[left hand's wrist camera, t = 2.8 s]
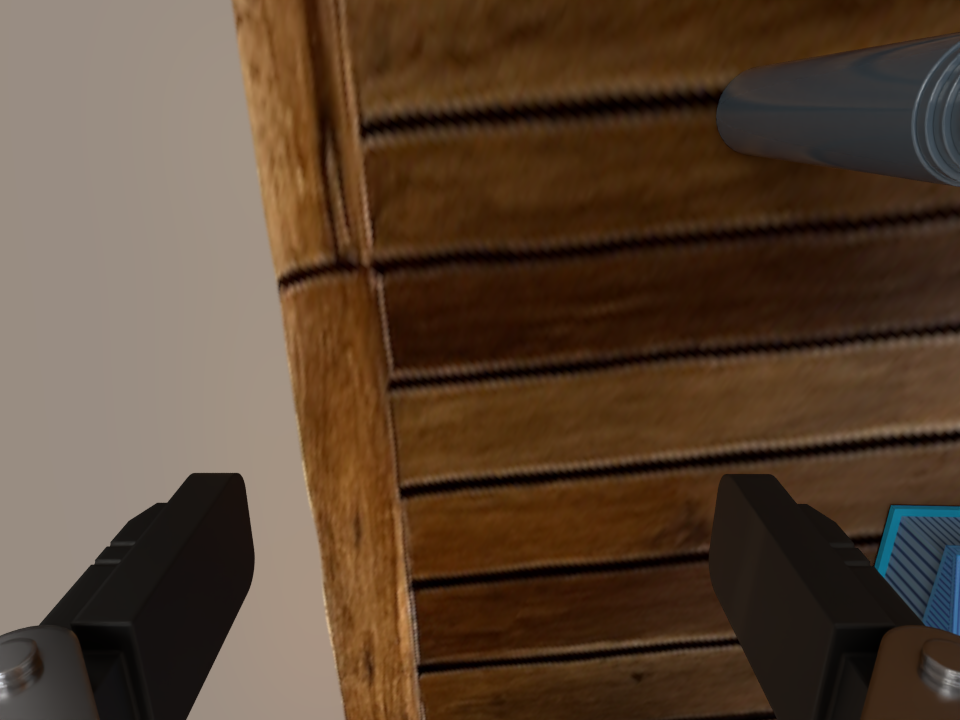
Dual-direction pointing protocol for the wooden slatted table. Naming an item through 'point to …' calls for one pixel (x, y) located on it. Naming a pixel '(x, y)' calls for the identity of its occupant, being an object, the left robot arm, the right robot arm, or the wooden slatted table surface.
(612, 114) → the wooden slatted table surface
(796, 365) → the wooden slatted table surface
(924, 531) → the model building
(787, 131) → the bottle
